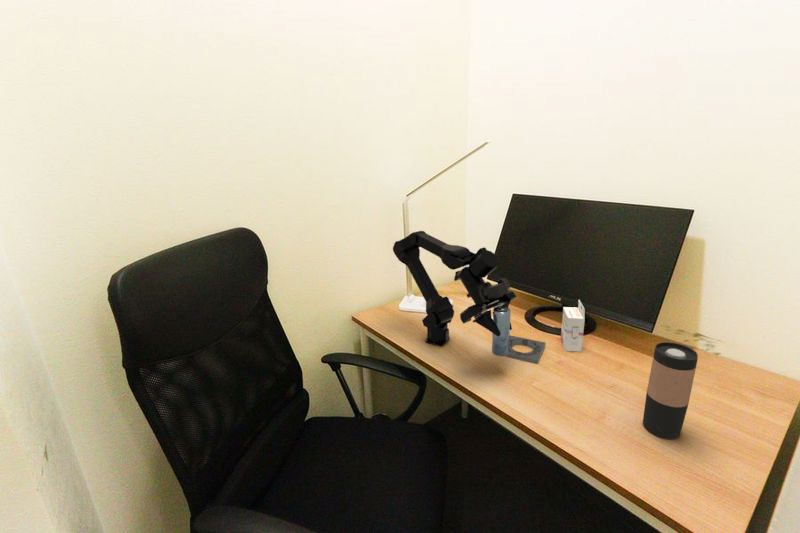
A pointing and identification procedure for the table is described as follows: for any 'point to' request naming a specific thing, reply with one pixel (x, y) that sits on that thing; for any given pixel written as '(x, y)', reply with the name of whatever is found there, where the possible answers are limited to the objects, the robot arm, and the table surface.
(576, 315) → the ink cartridge box
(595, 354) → the table surface
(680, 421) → the travel mug
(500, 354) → the thermos bottle
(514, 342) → the square metal washer
